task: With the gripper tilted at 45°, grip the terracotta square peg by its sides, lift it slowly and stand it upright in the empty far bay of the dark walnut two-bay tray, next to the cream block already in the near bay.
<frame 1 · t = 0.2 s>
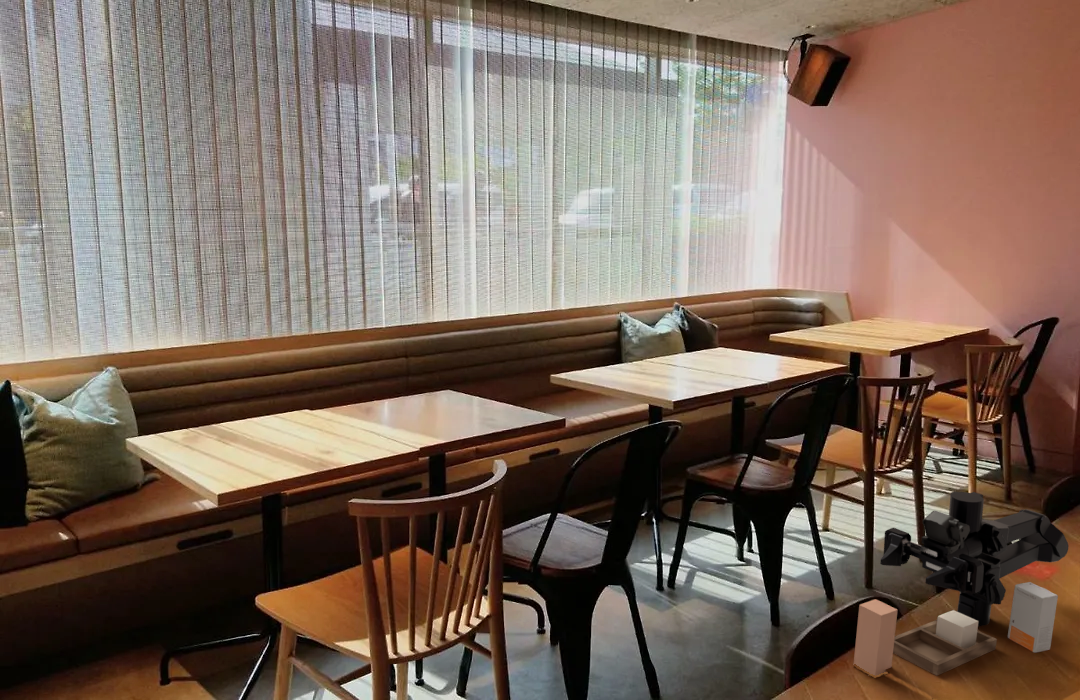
hand: (903, 571, 151), 17 cm above the table, tool horizontal, fingers open, 9 cm apart
cream block: (955, 643, 158), point 1 cm above the table, touching walnut slot tray
skincare box: (1027, 649, 158), on the table
walnut slot tray: (940, 654, 155), on the table
terracotta peg: (871, 669, 150), on the table
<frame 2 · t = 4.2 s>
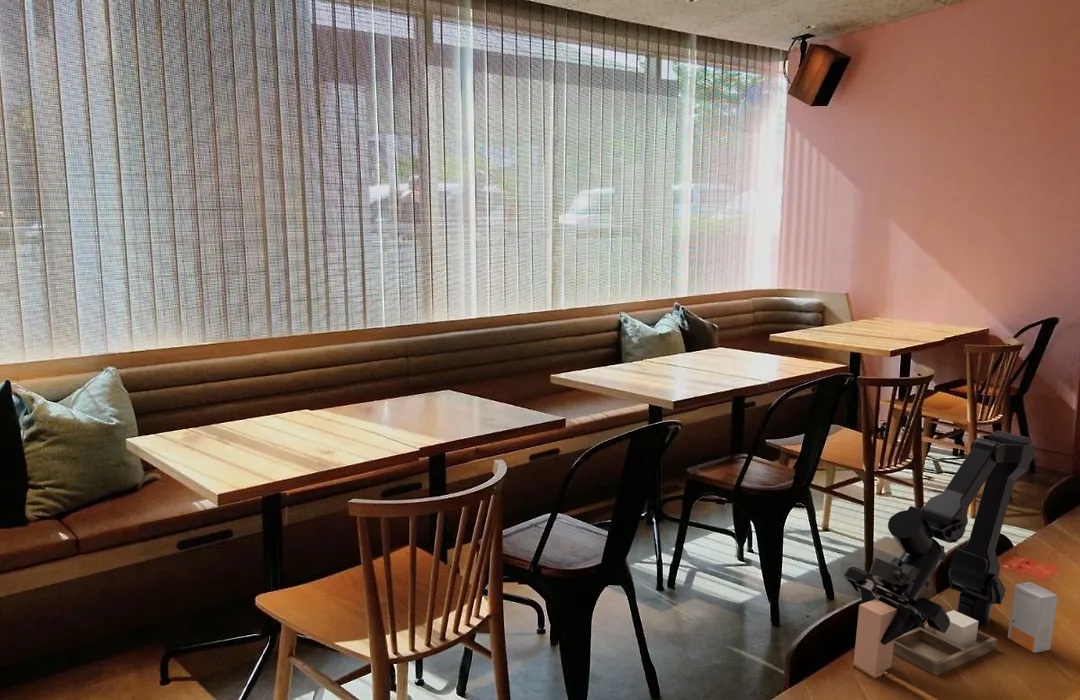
hand: (870, 637, 148), 7 cm above the table, tool tilted 45°, fingers closed on terracotta peg, 4 cm apart
terracotta peg: (871, 669, 149), on the table, touching gripper
everything else where it was.
when the fingers open (9 cm above the table, at t = 10.7 s): terracotta peg stays where it is, resting on walnut slot tray.
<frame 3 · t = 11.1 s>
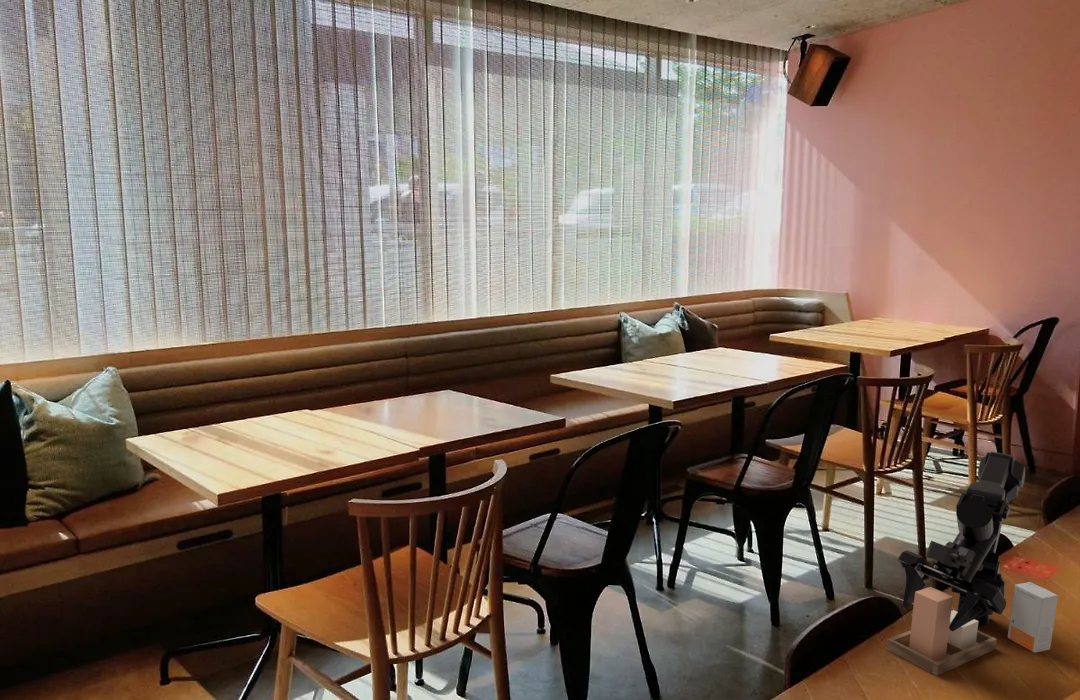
hand: (926, 618, 151), 9 cm above the table, tool tilted 45°, fingers open, 9 cm apart
terracotta peg: (926, 655, 153), point 1 cm above the table, touching walnut slot tray
everything else where it was.
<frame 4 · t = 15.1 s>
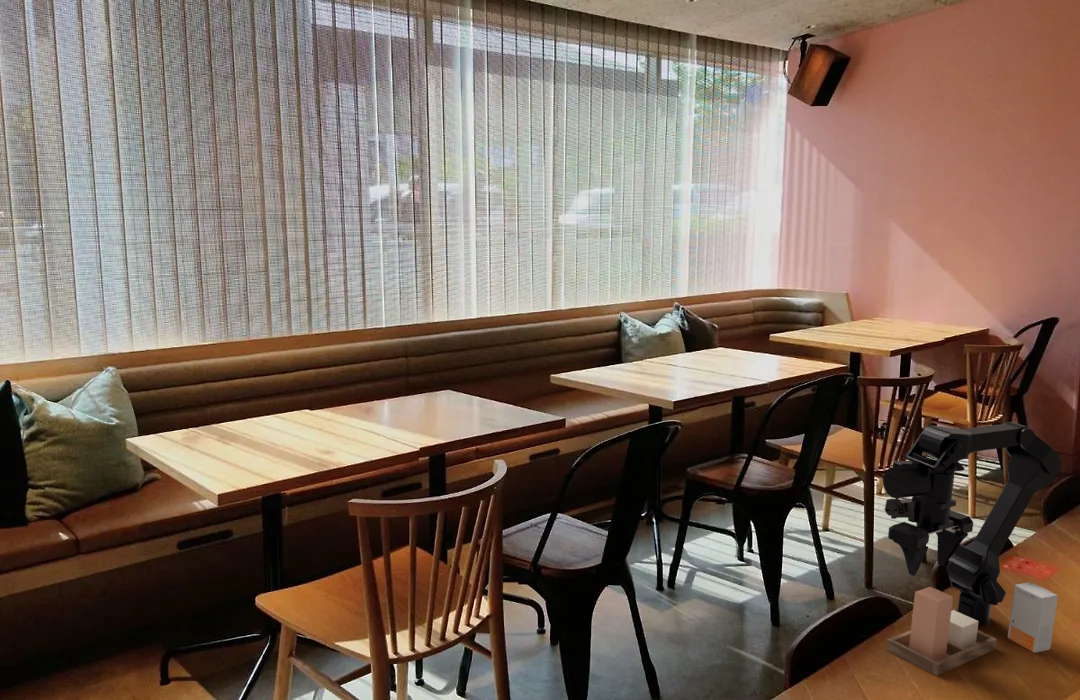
hand: (926, 570, 161), 13 cm above the table, tool pointing down, fingers open, 9 cm apart
nothing on the table moved.
at the end: terracotta peg 0.0 cm from the target spot on the walnut slot tray, point 1.0 cm above the walnut slot tray's base; terracotta peg tilted 0°; the gripper is holding nothing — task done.
